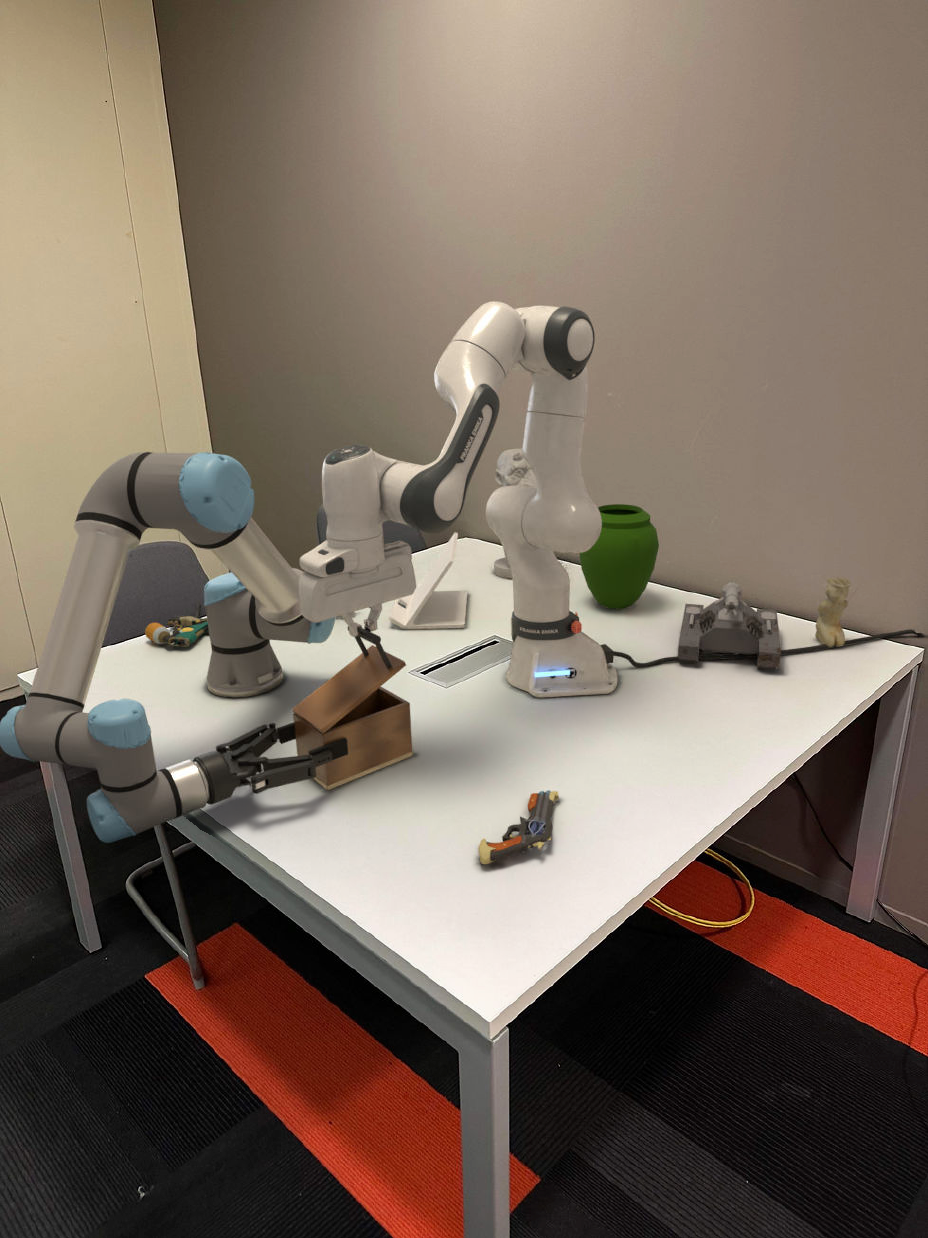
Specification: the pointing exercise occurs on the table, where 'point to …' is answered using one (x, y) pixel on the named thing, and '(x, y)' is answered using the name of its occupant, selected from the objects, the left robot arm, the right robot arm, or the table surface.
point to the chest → (361, 738)
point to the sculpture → (832, 613)
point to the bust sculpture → (512, 473)
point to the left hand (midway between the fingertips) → (329, 734)
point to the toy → (730, 629)
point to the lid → (349, 685)
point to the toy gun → (524, 830)
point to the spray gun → (178, 631)
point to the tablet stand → (433, 599)
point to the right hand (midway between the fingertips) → (363, 632)
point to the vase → (621, 556)
